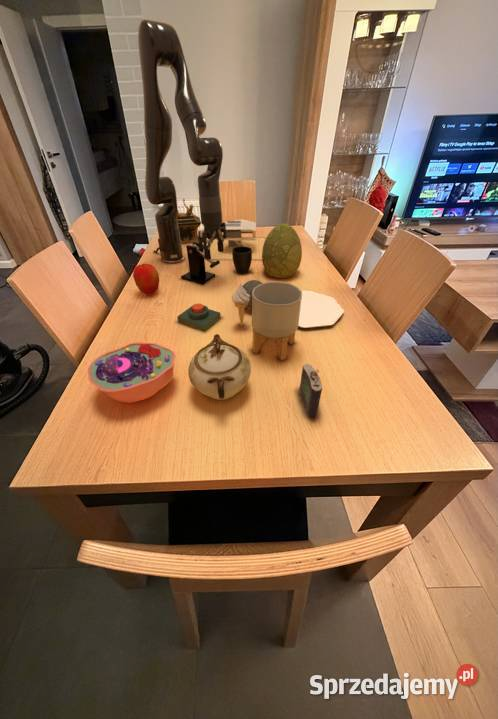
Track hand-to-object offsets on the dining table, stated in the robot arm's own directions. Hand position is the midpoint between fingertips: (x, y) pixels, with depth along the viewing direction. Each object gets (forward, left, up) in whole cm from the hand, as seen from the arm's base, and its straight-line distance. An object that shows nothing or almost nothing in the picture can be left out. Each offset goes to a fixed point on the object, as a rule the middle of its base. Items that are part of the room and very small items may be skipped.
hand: (214, 255), depth 114 cm
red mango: (-17, -20, -12) cm, 29 cm away
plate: (+40, -3, -12) cm, 42 cm away
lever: (-5, 0, -2) cm, 6 cm away
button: (+11, -26, -8) cm, 29 cm away
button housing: (+11, -26, -11) cm, 30 cm away
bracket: (-9, 0, -11) cm, 15 cm away
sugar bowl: (+35, -49, -12) cm, 61 cm away
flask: (+56, -43, -12) cm, 71 cm away
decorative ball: (+23, -10, -12) cm, 27 cm away
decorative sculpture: (+19, +21, -12) cm, 30 cm away
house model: (-12, +38, -12) cm, 41 cm away
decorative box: (-44, +32, -12) cm, 55 cm away
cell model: (+17, -59, -12) cm, 62 cm away
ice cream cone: (+25, -22, -12) cm, 35 cm away
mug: (+3, +16, -12) cm, 20 cm away
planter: (+39, -27, -12) cm, 49 cm away
